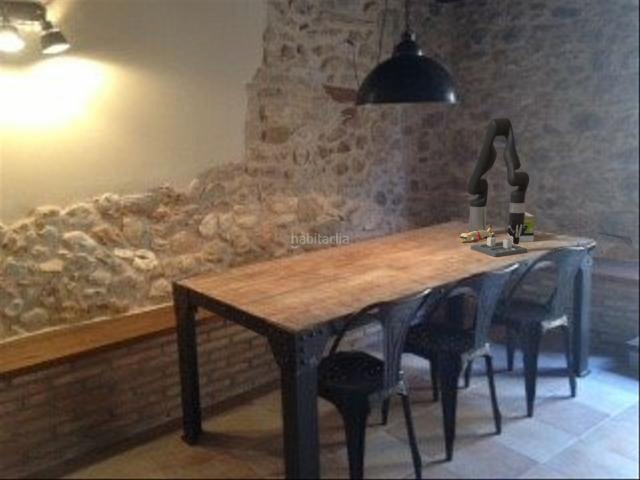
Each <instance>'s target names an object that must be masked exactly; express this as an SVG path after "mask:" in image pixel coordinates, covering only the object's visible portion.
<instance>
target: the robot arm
mask: <svg viewBox="0 0 640 480" xmlns="http://www.w3.org/2000/svg"><path fill="white" fill-rule="evenodd" d="M496 137H504V139H505V141H506V143H505V148H504V151H503V161H504V163H505V166H506V180H507V184H508V185H509V186H510V187H513V188H515V187H517V188H516V189H515V190H512V191H511V192H510V202H509V212H508V213H509V214H508V221H509V220H510V223H509V222H508V226H505V230H506V232H507V234H508V233H509V235H510V236H513V239H512V244H513V245H519V243H520V242H519V237H520V236H522V235H523V234H524V232H525V231H526V229H527V228H528V226H527V225H525V224H524V220H525V212H526V193H527V189H528V186H529V184H530V175H529V174H528V173H527V172H525V171H521V172H516V171H518V170H519V169H520V168H521V167H522V165H521V164H522V163H521V160H520V158H519V155H518V152H517V147H516V143H515V142H516V141H515V136H514V131H513V126H512V123H511V120H510V119H509V118H507V117H500V118H499V117H498V118H493V119H490V121H489V123H488V124H487V128H486V132H485V136H484V140H483V143H482V147H481V149H480V152H479V155H478V158H477V161H476V164H475V165H474V169H473V172H472V173H471V176H470V177H469V179H468V182H467V186H466V189H467V193H468V195H470V196H471V195H472V196H473V195H474V196H476V195H477V197H475V198H474V199H472V200H471V201H470V202H469V218H468V232H469V231H470V230H472V231H471V232H474V231H487V203H488V193H489V183H488V180H487V179H486V178H484V177H483V176H484V175H486V173H487V172H489V171H490V170H491V169H492V168H493V167H494V165H495V162H496V160H497V156H498V152H497V150H496V147H495V145H494V142H495V139H496ZM521 232H522V233H521Z"/></svg>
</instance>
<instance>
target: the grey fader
mask: <svg viewBox="0 0 640 480" xmlns="http://www.w3.org/2000/svg"><path fill="white" fill-rule="evenodd" d="M502 242H503V247H504V248H512V244H513V239H511V238H509V237H508V238H505V239H503V241H502Z"/></svg>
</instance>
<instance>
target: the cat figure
mask: <svg viewBox="0 0 640 480" xmlns="http://www.w3.org/2000/svg"><path fill="white" fill-rule="evenodd" d="M487 226H488V228H487V229H486V231H474V232H471V231H472V230H470V231H469V230H468V232H464V233H461V234H460V235H459V238H460V239H459V240H460V242H461V243H462V242H463V243H465V242H470V243H471V242H472V241H473V240H475V239H476V238H477V242H479V241H481V239H482V237H483V238H485V237H486V238H489V236H491V237H493V238H495V237H496V234H495V232H490V231H491V230H492V229H493V225H492V224H491V223H488V225H487Z"/></svg>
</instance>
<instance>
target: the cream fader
mask: <svg viewBox="0 0 640 480" xmlns="http://www.w3.org/2000/svg"><path fill="white" fill-rule="evenodd" d="M495 242H496V237H492V236H489V237H486V243H487V245H488V246H495Z"/></svg>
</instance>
